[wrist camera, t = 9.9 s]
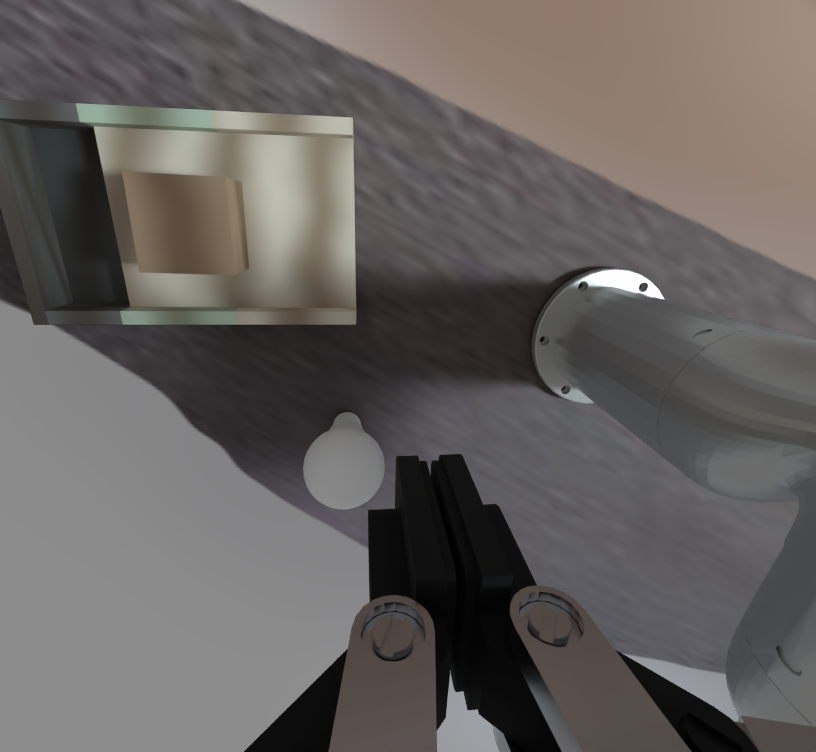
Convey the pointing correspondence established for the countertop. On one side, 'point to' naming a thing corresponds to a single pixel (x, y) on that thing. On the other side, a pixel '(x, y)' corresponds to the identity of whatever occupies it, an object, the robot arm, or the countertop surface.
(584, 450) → the countertop surface
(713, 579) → the countertop surface
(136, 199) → the walnut block
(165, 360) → the countertop surface
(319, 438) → the lightbulb
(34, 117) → the trap lane
